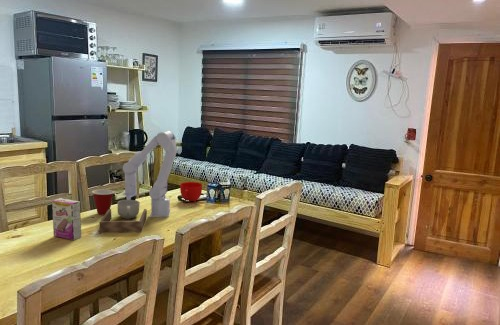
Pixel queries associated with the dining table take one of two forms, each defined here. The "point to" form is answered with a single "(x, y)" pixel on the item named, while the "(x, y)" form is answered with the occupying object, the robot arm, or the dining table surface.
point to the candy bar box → (66, 218)
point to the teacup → (128, 208)
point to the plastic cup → (103, 200)
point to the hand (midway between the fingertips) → (131, 209)
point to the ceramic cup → (191, 190)
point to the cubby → (121, 224)
